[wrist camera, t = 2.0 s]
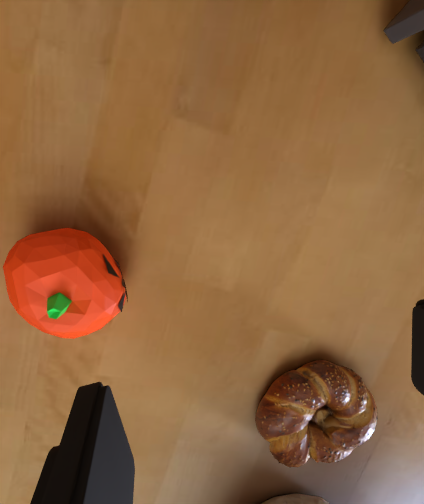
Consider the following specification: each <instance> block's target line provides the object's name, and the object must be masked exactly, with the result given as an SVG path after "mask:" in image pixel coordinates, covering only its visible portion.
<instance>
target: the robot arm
mask: <svg viewBox="0 0 424 504" xmlns="http://www.w3.org/2000/svg"><path fill="white" fill-rule="evenodd" d="M411 378H412V382H413V384H414V386H415V387H416V389H417V390H418V391H419V392H420V393H421V394H423V395H424V299H423V300H419V301H418V302H417V303H416V306H415V307H414V308H413V314H412V370H411ZM134 474H135V466H134V459H133V455H132V452H131V449H130V446H129V443H128V440H127V437H126V434H125V431H124V428H123V425H122V422H121V419H120V416H119V413H118V409H117V406H116V403H115V400H114V397H113V394H112V391H111V389H110V387H109V386H108V385H107V386H103V385H102V383H101V382H97V383H93V384H89V385H85V386H81V387H79V388H78V390H77V393H76V396H75V399H74V402H73V405H72V409H71V412H70V415H69V418H68V421H67V424H66V427H65V430H64V433H63V436H62V439H61V443H60V445H59V446H56V447H53V448H52V449H51V450H50V451H49V453H48V455H47V458H46V461H45V464H44V466H43V469H42V472H41V475H40V478H39V481H38V484H37V486H36V489H35V492H34V495H33V498H32V501H31V503H30V504H133V491H134Z"/></svg>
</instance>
